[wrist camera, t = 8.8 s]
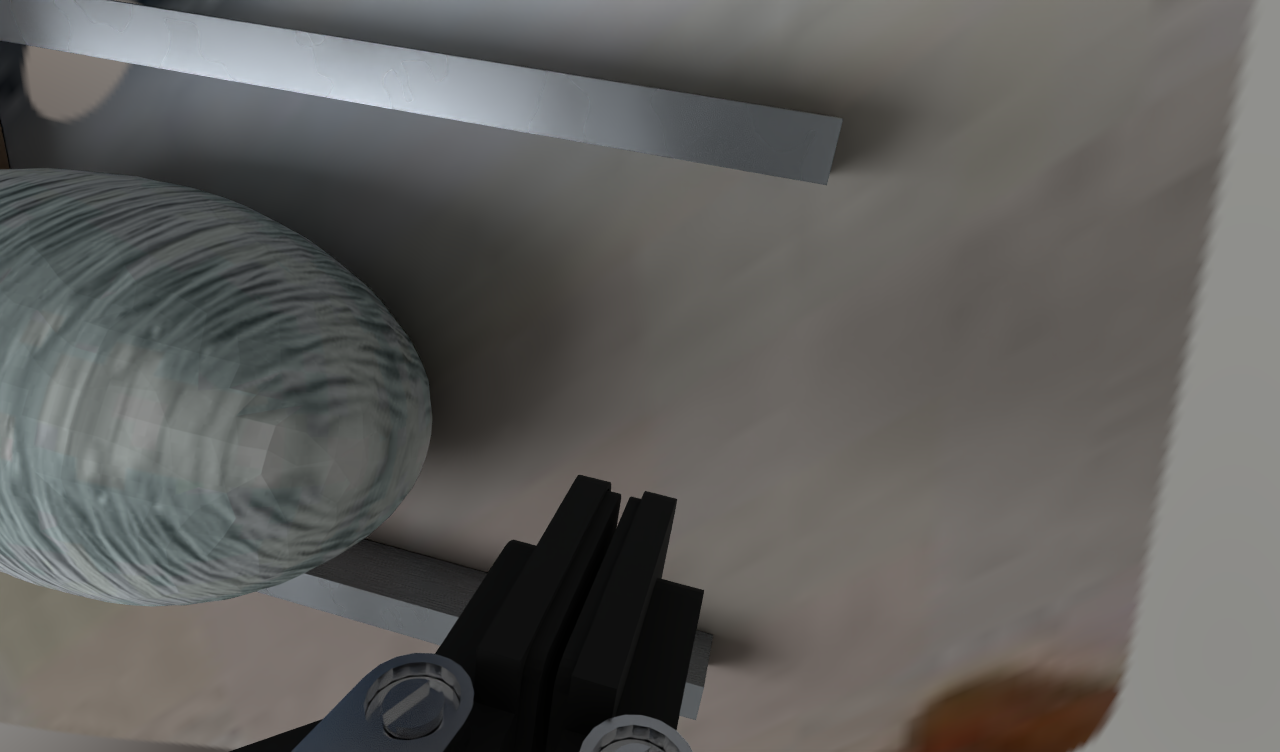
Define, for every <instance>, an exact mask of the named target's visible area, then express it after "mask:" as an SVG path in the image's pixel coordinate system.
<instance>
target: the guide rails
mask: <svg viewBox="0 0 1280 752" xmlns="http://www.w3.org/2000/svg"><path fill="white" fill-rule="evenodd" d="M0 40H1V41H7V42H13V43H18V44H24V45H30V46H36V47H42V48H47V49H53V50H58V51H65V52H70V53H76V54H81V55H88V56H93V57H98V58H105V59H111V60H116V61H121V62H127V63H133V64H138V65H144V66H150V67H155V68H161V69H167V70H173V71H178V72H184V73H190V74H195V75H201V76H207V77H212V78H218V79H224V80H230V81H235V82H241V83H247V84H252V85H258V86H264V87H270V88H275V89H281V90H287V91H292V92H298V93H304V94H309V95H315V96H321V97H327V98H332V99H338V100H344V101H349V102H355V103H361V104H367V105H372V106H378V107H384V108H389V109H395V110H401V111H406V112H412V113H418V114H424V115H429V116H435V117H441V118H446V119H452V120H458V121H464V122H469V123H475V124H481V125H486V126H492V127H498V128H503V129H509V130H515V131H521V132H526V133H532V134H538V135H543V136H549V137H555V138H561V139H566V140H572V141H578V142H583V143H589V144H595V145H600V146H606V147H612V148H618V149H623V150H629V151H635V152H640V153H646V154H652V155H658V156H663V157H669V158H675V159H680V160H686V161H692V162H697V163H703V164H709V165H715V166H720V167H726V168H732V169H737V170H743V171H749V172H755V173H760V174H766V175H772V176H777V177H783V178H789V179H794V180H800V181H806V182H812V183H817V184H823V185H827V182H828V178H829V174H830V170H831V166H832V162H833V158H834V154H835V150H836V145H837V141H838V137H839V133H840V129H841V125H842V121H843V119H842V118H839V117H835V116H829V115H822V114H816V113H810V112H804V111H798V110H791V109H785V108H779V107H773V106H767V105H760V104H754V103H748V102H742V101H735V100H729V99H723V98H717V97H711V96H704V95H698V94H692V93H686V92H679V91H673V90H667V89H661V88H655V87H648V86H642V85H636V84H630V83H624V82H617V81H611V80H605V79H599V78H592V77H586V76H580V75H574V74H568V73H561V72H555V71H549V70H543V69H537V68H530V67H524V66H518V65H512V64H505V63H499V62H493V61H487V60H481V59H474V58H468V57H462V56H456V55H450V54H443V53H437V52H431V51H425V50H418V49H412V48H406V47H400V46H394V45H387V44H381V43H375V42H369V41H363V40H356V39H350V38H344V37H338V36H331V35H325V34H319V33H313V32H307V31H300V30H294V29H288V28H282V27H276V26H269V25H263V24H257V23H251V22H244V21H238V20H232V19H226V18H220V17H213V16H207V15H201V14H195V13H188V12H182V11H176V10H170V9H164V8H157V7H151V6H145V5H139V4H133V3H126V2H120V1H114V0H0ZM486 575H487V573H485V572H482V571H478V570H474V569H471V568H467V567H463V566H460V565H456V564H452V563H449V562H445V561H441V560H438V559H434V558H431V557H427V556H423V555H420V554H416V553H412V552H409V551H405V550H401V549H398V548H394V547H390V546H387V545H383V544H379V543H376V542H372V541H368V540H365V539H362V540H361V541H359V542H358V543H356V544H355V545H353V546H352V547H350V548H349V549H347V550H346V551H344V552H343V553H341V554H339V555H338V556H336V557H334V558H332V559H330V560H328V561H326V562H325V563H323V564H321V565H319V566H317V567H315V568H313V569H311V570H309V571H308V572H306V573H304V574H302V575H300V576H298V577H296V578H293V579H291V580H289V581H287V582H285V583H282V584H280V585H276V586H273V587H269V588H266V589H262V590H259V591H256V592H260V593H263V594H267V595H270V596H273V597H277V598H280V599H284V600H287V601H290V602H294V603H297V604H301V605H304V606H308V607H311V608H314V609H318V610H321V611H325V612H328V613H331V614H335V615H338V616H342V617H345V618H348V619H352V620H355V621H359V622H362V623H366V624H369V625H372V626H376V627H379V628H383V629H386V630H389V631H393V632H396V633H400V634H403V635H407V636H410V637H413V638H417V639H420V640H424V641H427V642H430V643H434V644H437V645H441V644H442V642H443V641H444V639H445V638H446V636H447V635H448V633H449V632H450V630H451V629H452V627H453V626H454V624H455V623H456V621H457V619H458V618H459V616H460V615H461V613H462V612H463V610H464V609H465V607H466V606H467V604H468V603H469V601H470V599H471V598H472V596H473V595H474V593H475V592H476V590H477V589H478V587H479V586H480V584H481V583H482V581H483V580H484V578H485V576H486ZM712 637H713V635H712V634H708V633H704V632H701V631H697V630H696V634H695V639H694V644H693V649H692V654H691V659H690V664H689V669H688V674H687V679H686V684H685V689H684V694H683V699H682V704H681V709H680V716H683V717H686V718H690V719H693V720H696V717H697V713H698V709H699V705H700V701H701V697H702V693H703V689H704V684H705V678H706V672H707V666H708V661H709V655H710V649H711V643H712Z"/></svg>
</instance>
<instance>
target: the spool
mask: <svg viewBox="0 0 1280 752" xmlns="http://www.w3.org/2000/svg"><path fill="white" fill-rule="evenodd" d="M431 429H432V411H431V401H430V391H429V381H428V378H427V375H426V372H425V370H424V367H423V364H422V362H421V360H420V358H419V356H418V354H417V352H416V350H415V348H414V346H413V344H412V342H411V340H410V339H409V337H408V336H407V335H406V333H405V332H404V331H403V329H402V328H401V327H400V325H399V324H398V323H397V322H396V320H395V319H394V318H393V316H392V315H391V314H390V312H389V311H388V310H387V308H386V307H385V306H384V304H383V303H382V302H381V300H380V299H379V298H378V297H377V296H376V295H375V294H374V293H373V292H372V291H371V290H370V289H369V288H368V287H367V286H366V285H365V284H364V283H363V282H361V281H360V280H359V279H358V278H357V277H356V276H354V275H353V274H352V273H351V272H350V271H348V270H347V269H346V268H345V267H344V266H343V265H341V264H340V263H339V262H338V261H337V260H335V259H334V258H333V257H331V256H330V255H329V254H328V253H326V252H325V251H324V250H322V249H321V248H319V247H318V246H317V245H315V244H314V243H313V242H311V241H310V240H309V239H307V238H305V237H303V236H302V235H300V234H298V233H296V232H294V231H292V230H291V229H289V228H287V227H285V226H283V225H281V224H280V223H278V222H276V221H274V220H272V219H270V218H268V217H266V216H264V215H263V214H261V213H259V212H257V211H255V210H253V209H251V208H248V207H246V206H244V205H241V204H239V203H237V202H234V201H232V200H230V199H227V198H224V197H220V196H217V195H214V194H211V193H208V192H204V191H201V190H198V189H194V188H191V187H187V186H182V185H177V184H172V183H167V182H159V181H155V180H151V179H147V178H143V177H139V176H131V175H119V174H108V173H98V172H89V171H80V170H70V169H55V168H35V169H0V571H1V572H4V573H7V574H9V575H11V576H14V577H16V578H19V579H22V580H24V581H27V582H30V583H33V584H36V585H39V586H43V587H47V588H51V589H55V590H59V591H63V592H66V593H70V594H74V595H78V596H83V597H87V598H91V599H96V600H100V601H105V602H111V603H119V604H127V605H140V606H168V605H190V604H197V603H203V602H211V601H219V600H226V599H231V598H235V597H238V596H242V595H245V594H249V593H252V592H256V591H259V590H262V589H266V588H269V587H273V586H276V585H280V584H282V583H285V582H287V581H289V580H291V579H293V578H296V577H298V576H300V575H302V574H304V573H306V572H308V571H309V570H311V569H313V568H315V567H317V566H319V565H321V564H323V563H325V562H326V561H328V560H330V559H332V558H334V557H336V556H338V555H339V554H341V553H343V552H344V551H346V550H347V549H349V548H350V547H352V546H353V545H355V544H356V543H358V542H359V541H361V540H362V539H364V538H366V537H367V536H368V535H369V534H371V533H372V532H373V531H374V530H375V529H376V528H377V527H378V526H380V525H381V524H382V523H383V522H384V521H385V520H386V519H387V518H389V517H390V516H391V514H392V513H393V512H394V511H395V510H396V508H397V507H398V506H399V504H400V503H401V502H402V501H403V499H404V498H405V497H406V495H407V494H408V493H409V491H410V490H411V489H412V488H413V486H414V484H415V482H416V480H417V478H418V476H419V474H420V472H421V469H422V467H423V464H424V461H425V458H426V455H427V452H428V447H429V443H430V438H431Z"/></svg>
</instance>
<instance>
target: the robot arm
mask: <svg viewBox="0 0 1280 752" xmlns="http://www.w3.org/2000/svg"><path fill="white" fill-rule="evenodd" d="M620 502H621V494H619V493H615V492H611V482H607V481H603V480H599V479H595V478H591V477H587V476H583V475H578V476H577V478H576V479H575V481H574V483H573V484H572V486H571V488H570V489H569V491H568V493H567V495H566V496H565V498H564V500H563V501H562V503H561V505H560V507H559V508H558V510H557V512H556V513H555V515H554V517H553V519H552V520H551V522H550V524H549V525H548V527H547V529H546V531H545V532H544V534H543V536H542V537H541V539H540V541H539V543H538V544H537V546H535V545H531V544H528V543H524V542H520V541H516V540H511V541H509V542H508V544H507V545H506V546H505V547H504V549H503V550H502V552H501V553H500V555H499V557H498V558H497V560H496V561H495V563H494V564H493V566H492V567H491V569H490V570H489V572H488V573H487V575H486V576H485V578H484V580H483V581H482V583H481V584H480V586H479V587H478V589H477V590H476V592H475V593H474V595H473V596H472V598H471V599H470V601H469V603H468V604H467V606H466V607H465V609H464V610H463V612H462V613H461V615H460V616H459V618H458V619H457V621H456V623H455V624H454V626H453V627H452V629H451V630H450V632H449V633H448V635H447V636H446V638H445V639H444V641H443V642H442V644H441V646H440V647H439V649H438V650H437V652H436V653H435V654H432V653H413V654H408V655H403V656H398V657H395V658H393V659H391V660H389V661H387V662H384V663H382V664H380V665H379V666H377V667H376V668H375V669H374V670H372V671H371V672H370V673H368V674H367V675H366V676H365V677H364V678H363V679H362V680H361V681H360V682H359V683H358V684H357V685H356V686H355V687H354V688H353V689H352V690H351V691H350V692H349V693H348V694H347V695H346V696H345V697H344V698H343V699H342V700H341V701H340V702H339V703H338V704H337V705H336V706H335V707H334V708H333V709H332V711H331V712H330V713H329V714H328V715H327V716H326V717H325V718H324V719H322V720H319V721H316V722H313V723H310V724H307V725H304V726H302V727H299V728H296V729H293V730H290V731H287V732H284V733H281V734H279V735H276V736H273V737H270V738H267V739H264V740H261V741H258V742H256V743H253V744H250V745H247V746H244V747H241V748H238V749H235V750H233V751H230V752H692V750H691V748H690V746H689V744H688V743H687V742H686V740H685V739H684V738H683V737H682V736H681V735H680V734H679V733H678V732H677V731H676V730H677V725H678V720H679V715H680V709H681V704H682V699H683V694H684V689H685V684H686V679H687V674H688V669H689V664H690V659H691V654H692V649H693V644H694V639H695V634H696V629H697V624H698V619H699V614H700V609H701V604H702V599H703V594H704V590H701V589H697V588H693V587H690V586H686V585H682V584H678V583H675V582H671V581H667V580H663V579H661V578H662V573H663V568H664V563H665V559H666V554H667V549H668V544H669V539H670V534H671V529H672V524H673V519H674V514H675V509H676V503H677V499H675V498H671V497H667V496H663V495H659V494H655V493H651V492H647V491H645V492H644V494H643V496H642V499H639V498H635V497H630V498H629V500H628V503H627V505H626V507H625V510H624V512H623V514H622V517H621V519H620V521H619V524H618V526H617V521H618V515H619V508H620ZM616 527H617V528H616Z"/></svg>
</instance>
